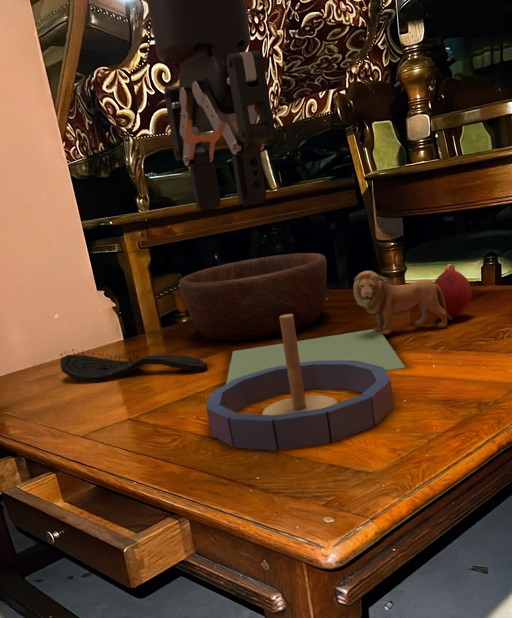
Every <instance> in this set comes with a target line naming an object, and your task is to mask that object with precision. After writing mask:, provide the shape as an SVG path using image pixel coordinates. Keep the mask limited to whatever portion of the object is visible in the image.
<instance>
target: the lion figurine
mask: <svg viewBox="0 0 512 618" xmlns="http://www.w3.org/2000/svg"><path fill="white" fill-rule="evenodd" d="M353 282H354V283H353V284H352V285H353V286H352V290H353V297H354V299H355V302H356V304H357V305H358V306H360V307H362V308H363V309H364V310H365V311H366V312H367V313H368V314H369V315H375V318H376V322H377V326H375V327H374V328H373V329H374V331H381V332H382V334H383V335H390V334H391V333H392V330H393V325H392V319H393V314H394V312H402V311H407V310H409V309H411V308H413V307H414V306H416V305H418V307H419V309H420V311H421V317H420V319H419V320H416V321H415V322H414V326H423V325H424V324H425V323H426V321H427V320H428V318H429V317H430V312H432V313H434V314H435V315H437V316H438V317H440V319H441V321H439V322H438V323H437V324H436V325H437V327H438V328H440V329H441V328H442V329H443V328H446V327H447V326H448V321H449V320H450V321H453V320H454V319H453V318H452V317H451V316H450V315H448V313H447V310H446V304H445V299H444V296H443V293H442V291H441V289H440V287H439V286H438V285H437V284H436V283H434V282H435V281H433V280H430V279H420V280H417V281H414V282H411V283H407V284H398V283H396V282H393V281H392V280H391V279H390V278H388V277H386V276H382V275H379V274H378V273H377V272H374V270H364V271H362V272H359V273H358V274H356V276H355V277H354V278H353ZM437 294H438V296H439V299H440V302H441V306H442V307H441V306H440V304H439V302H438V298H437Z"/></svg>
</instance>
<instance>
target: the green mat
mask: <svg viewBox="0 0 512 618" xmlns="http://www.w3.org/2000/svg"><path fill="white" fill-rule="evenodd" d="M297 345H298V352H299V359H300V363H303V362H309V361H332V360H354V361H360V362H364V363H368V364H373V365H377V366H381V367H384V369H385V371H386V372H388V371H392V370H400V369H406V366H405V364H404V363H403V362H402V360H401V359H400V357H399V356H398V354H397V353H396V351H395V350H394V348H393V347H392V346H391V344H390V343H389V341H388V340H387V338H386V337H385V334H382V330H381V331H374V328H372V329H365V330H359V331H353V332H347V333H341V334H334V335H328V336H321V337H315V338H309V339H302V340H297ZM283 365H286V358H285V351H284V345H283V342H282V343H277V344H269V345H264V346H258V347H250V348H245V349H238V350H233V351H232V355H231V360H230V363H229V367H228V373H227V377H226V382H225V384H227V383H229V382H230V381H232V380H234V379H236V378H239V377H242V376H245V375H249V374H252V373H255V372H258V371H262V370H265V369H268V368H271V367H272V368H274V367H277V366H283Z"/></svg>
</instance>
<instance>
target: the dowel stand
mask: <svg viewBox="0 0 512 618" xmlns="http://www.w3.org/2000/svg"><path fill="white" fill-rule="evenodd" d="M279 318H280V325H281V332H282V334H281V337H282V343H283V345H284V351H285V358H286V365H287V371H288V378H289V385H290V391H291V393H290V397H289V398H285V399H281V400H278V401H275V402H273V403H271V404H269V405H268V406H266V407H265V408H264V409H263V410H262V413H261V415H281V414H288V413H295V412H301V411H308V410H315V409H322V408H325V407H328V406H331V405H334V404H337V403H339V402H338V400H337V399H336V398H334V397H331V396H328V395H320V394H318V395H317V394H309V395H308V394H307V395H305V391H304V387H303V380H302V373H301V366H300V359H299V352H298V345H297V341H298V339H297V330H295V324H294V317H293V314H286V315H282V316H280V317H279Z"/></svg>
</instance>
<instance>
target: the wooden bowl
mask: <svg viewBox="0 0 512 618" xmlns="http://www.w3.org/2000/svg"><path fill="white" fill-rule="evenodd" d="M327 273H328V265H327V258H326V256H325V255H323V254H322V253H316V252H301V253H300V252H299V253H298V252H297V253H287V254H286V253H285V254H276V255H269V256H263V257H262V256H261V257H257V258H256V257H255V258H250V259H244V260H240V261H234V262H228V263H224V264H219V265H217V266H212V267H208V268H204V269H201V270H198V271H195V272H192V273H190V274H188V275H185V276H183V277H181V278H180V280H179V281H178V287H179V291H180V293H181V297H182V299H183V302H184V305H185V308H186V310H187V313H188V315H189V317H190V319H191V321H192V322H193V325H194V326H195V327H196V329H197V330H198V331H199V332H200V333H201V334H202V336H204V337H205V338H207V339H209V340H212V341H217V342H239V341H240V342H241V341H251V340H258V339H264V338H269V337H275V336H279V335H282V332H281V325H280V318H279V317H280V316H282V315H286V314H293V317H294V324H295V331H297V330H300V329H302V328H305V327H307V326H309V325H311V324H313V323H314V322H315V321H316V320H317V319H318V318H319V316H320V314H321V313H322V310H323V306H324V303H325V299H326V294H327V293H326V292H327V279H328V277H327Z"/></svg>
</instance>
